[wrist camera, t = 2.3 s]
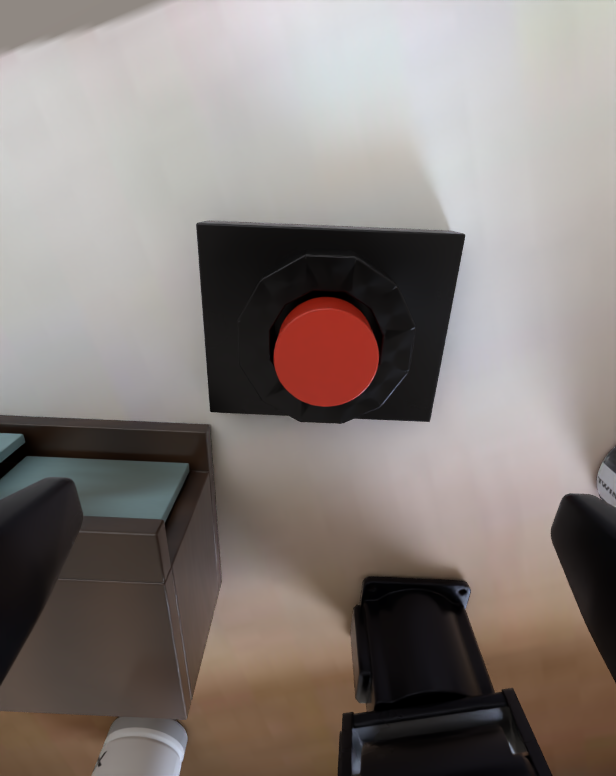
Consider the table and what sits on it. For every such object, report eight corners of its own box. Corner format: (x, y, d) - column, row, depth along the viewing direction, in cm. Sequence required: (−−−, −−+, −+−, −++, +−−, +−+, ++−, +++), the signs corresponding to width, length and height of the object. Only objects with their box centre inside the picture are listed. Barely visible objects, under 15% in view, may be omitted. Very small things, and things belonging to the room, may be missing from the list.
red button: (377, 298, 15) (385, 310, 13) (367, 388, 16) (373, 409, 14) (278, 294, 15) (273, 305, 13) (277, 384, 16) (273, 404, 14)
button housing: (452, 230, 16) (484, 238, 13) (421, 405, 20) (441, 444, 17) (207, 220, 16) (180, 225, 13) (218, 396, 20) (199, 433, 17)
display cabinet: (210, 423, 21) (156, 535, 14) (222, 581, 25) (186, 720, 19) (-142, 408, 21) (-367, 511, 14) (-63, 568, 25) (-202, 702, 19)
